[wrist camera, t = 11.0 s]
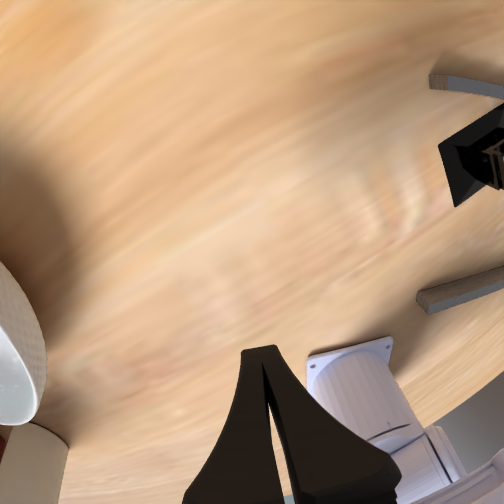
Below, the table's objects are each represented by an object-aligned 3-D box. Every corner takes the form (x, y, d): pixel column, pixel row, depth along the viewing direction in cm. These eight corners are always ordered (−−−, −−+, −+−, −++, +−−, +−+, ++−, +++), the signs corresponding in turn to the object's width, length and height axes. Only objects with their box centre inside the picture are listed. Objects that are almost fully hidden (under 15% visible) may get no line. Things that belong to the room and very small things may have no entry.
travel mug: (4, 414, 27) (-31, 531, 11) (53, 424, 27) (25, 558, 11) (31, 447, 30) (8, 551, 14) (78, 456, 31) (62, 572, 15)
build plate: (507, 86, 17) (547, 92, 13) (523, 159, 21) (559, 174, 16) (413, 142, 19) (456, 156, 15) (440, 225, 22) (476, 250, 18)
